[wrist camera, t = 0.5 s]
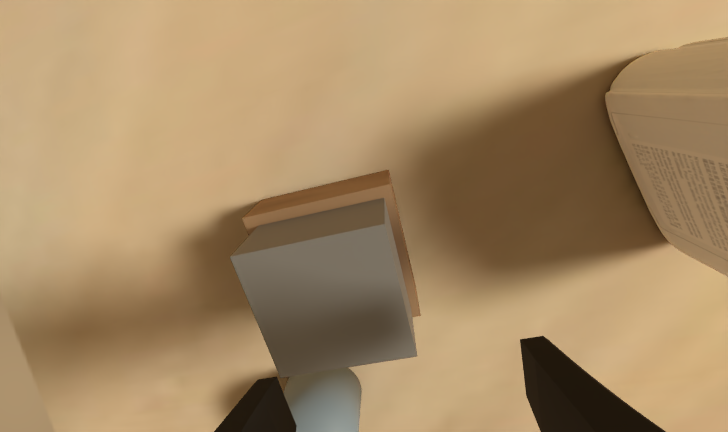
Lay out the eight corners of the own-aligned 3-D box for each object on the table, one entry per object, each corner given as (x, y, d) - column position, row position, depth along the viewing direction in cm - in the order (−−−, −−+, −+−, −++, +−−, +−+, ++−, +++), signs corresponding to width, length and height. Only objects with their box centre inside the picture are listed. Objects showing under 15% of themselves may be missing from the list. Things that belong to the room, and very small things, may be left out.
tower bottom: (415, 282, 20) (420, 315, 17) (302, 303, 21) (289, 338, 18) (388, 168, 18) (389, 184, 15) (264, 198, 19) (241, 218, 16)
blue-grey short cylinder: (369, 410, 24) (366, 491, 19) (300, 421, 24) (280, 500, 19) (350, 353, 22) (341, 425, 17) (276, 366, 23) (249, 438, 18)
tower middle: (411, 309, 17) (417, 356, 14) (297, 329, 18) (280, 378, 15) (384, 197, 15) (384, 223, 12) (258, 225, 16) (229, 256, 13)
